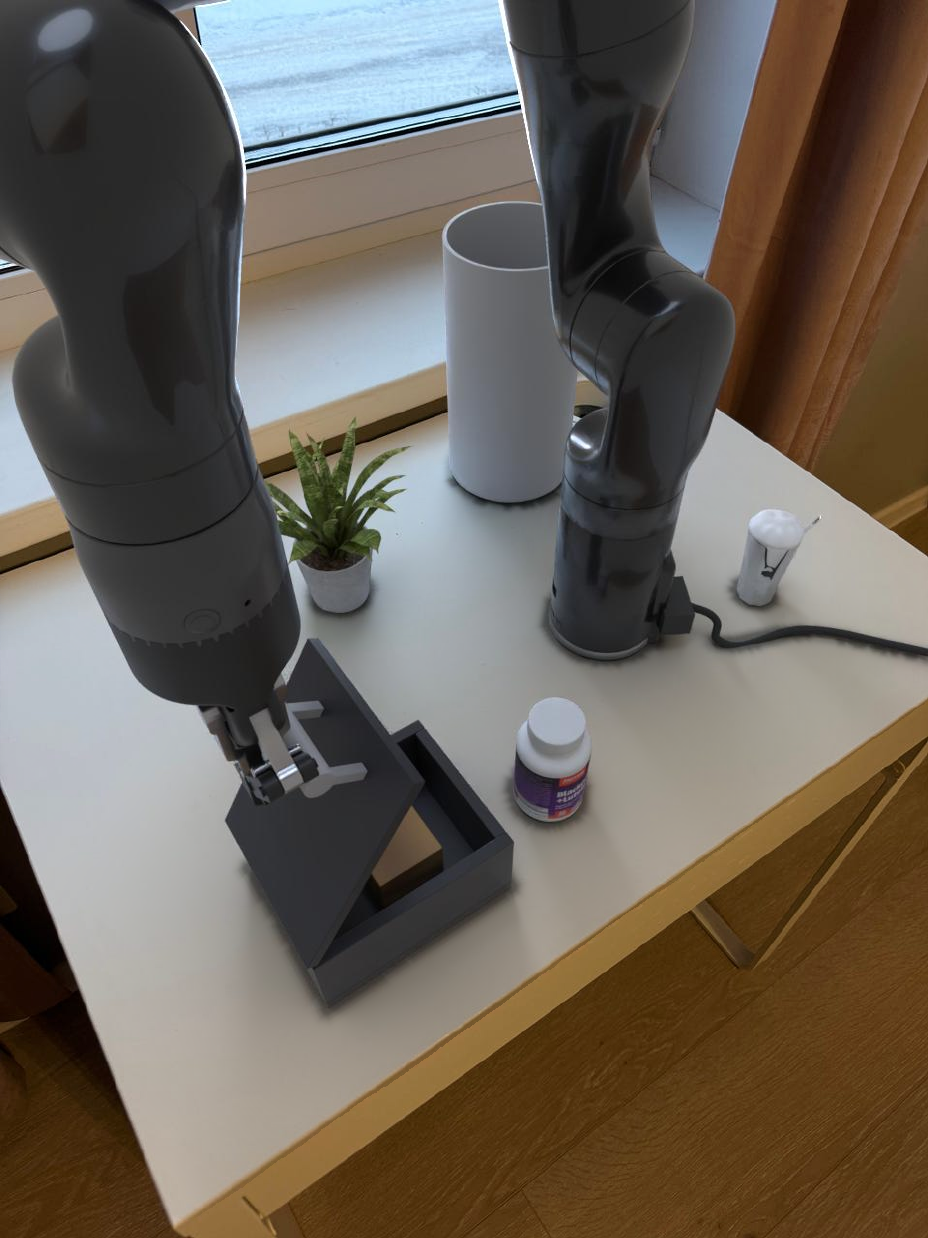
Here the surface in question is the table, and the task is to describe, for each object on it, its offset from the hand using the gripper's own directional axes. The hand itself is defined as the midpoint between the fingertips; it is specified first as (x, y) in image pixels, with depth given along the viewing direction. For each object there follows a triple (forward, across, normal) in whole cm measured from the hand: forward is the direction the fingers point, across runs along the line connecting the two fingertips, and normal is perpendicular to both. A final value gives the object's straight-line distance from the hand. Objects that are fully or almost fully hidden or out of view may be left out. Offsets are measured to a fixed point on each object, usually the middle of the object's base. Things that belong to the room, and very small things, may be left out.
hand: (268, 788), depth 49 cm
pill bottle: (+18, -1, -20) cm, 27 cm away
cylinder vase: (+18, +32, -40) cm, 54 cm away
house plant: (+18, +25, -18) cm, 36 cm away
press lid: (+4, 0, -2) cm, 5 cm away
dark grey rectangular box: (+18, 0, -5) cm, 19 cm away
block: (+17, 0, -7) cm, 18 cm away
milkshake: (+18, +4, -48) cm, 52 cm away
